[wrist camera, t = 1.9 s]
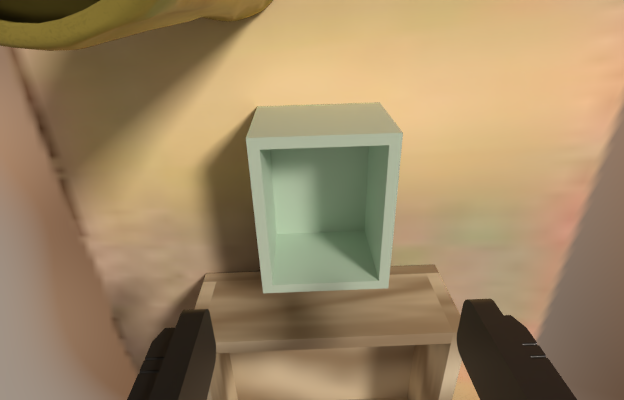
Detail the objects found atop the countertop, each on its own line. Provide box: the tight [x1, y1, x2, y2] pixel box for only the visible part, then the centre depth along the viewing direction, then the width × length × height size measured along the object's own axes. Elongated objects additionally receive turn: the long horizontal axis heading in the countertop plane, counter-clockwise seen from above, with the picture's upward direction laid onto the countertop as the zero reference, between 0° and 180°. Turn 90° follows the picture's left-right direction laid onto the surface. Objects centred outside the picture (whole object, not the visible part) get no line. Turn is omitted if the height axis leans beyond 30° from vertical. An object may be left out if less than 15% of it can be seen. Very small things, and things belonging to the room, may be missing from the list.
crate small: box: [246, 102, 403, 293], centre depth 19 cm, size 8×6×5 cm
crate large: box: [195, 265, 462, 400], centre depth 25 cm, size 13×15×6 cm
